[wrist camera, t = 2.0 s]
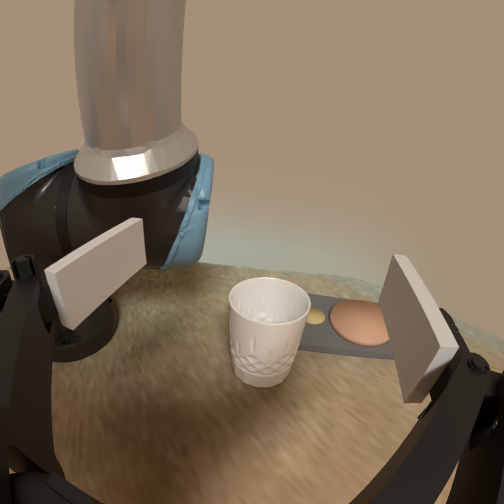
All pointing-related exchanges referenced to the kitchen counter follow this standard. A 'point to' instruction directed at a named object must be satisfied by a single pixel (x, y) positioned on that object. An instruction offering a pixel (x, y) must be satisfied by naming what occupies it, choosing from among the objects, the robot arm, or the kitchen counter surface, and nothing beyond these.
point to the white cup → (266, 328)
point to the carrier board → (346, 328)
